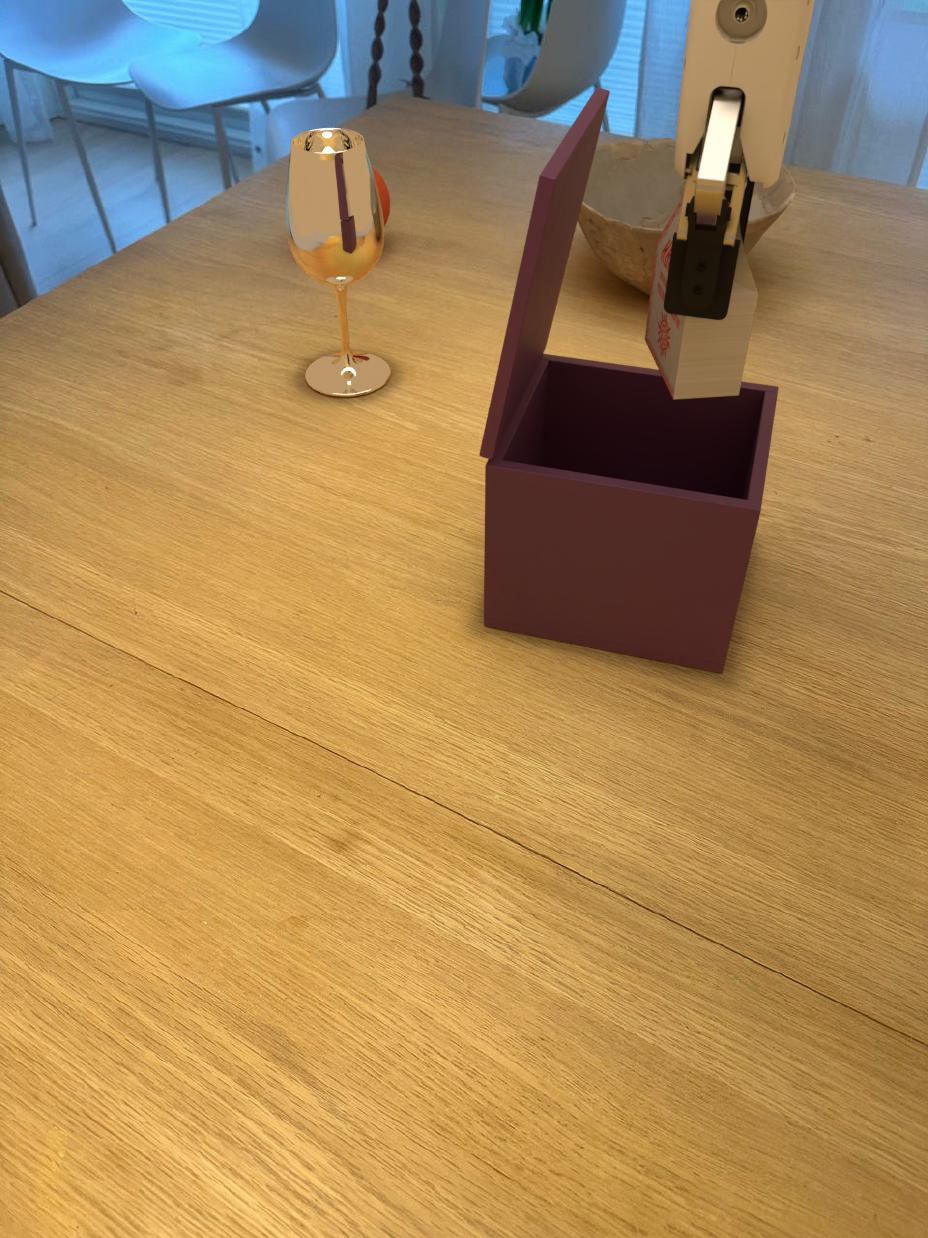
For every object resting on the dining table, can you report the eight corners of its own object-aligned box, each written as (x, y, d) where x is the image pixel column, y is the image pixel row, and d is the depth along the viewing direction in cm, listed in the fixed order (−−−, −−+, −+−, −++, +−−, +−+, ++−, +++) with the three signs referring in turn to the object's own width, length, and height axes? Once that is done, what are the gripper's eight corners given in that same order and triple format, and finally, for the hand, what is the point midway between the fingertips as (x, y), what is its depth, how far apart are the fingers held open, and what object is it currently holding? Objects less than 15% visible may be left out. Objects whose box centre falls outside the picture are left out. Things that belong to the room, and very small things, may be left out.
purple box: (743, 543, 76) (779, 385, 67) (722, 674, 66) (760, 510, 57) (532, 506, 79) (540, 352, 70) (483, 626, 69) (485, 464, 61)
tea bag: (705, 335, 63) (733, 164, 56) (738, 395, 58) (774, 214, 51) (644, 339, 63) (665, 167, 56) (673, 399, 58) (699, 218, 51)
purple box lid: (610, 89, 58) (596, 86, 58) (556, 178, 49) (539, 174, 49) (545, 348, 70) (534, 344, 70) (491, 460, 60) (478, 456, 60)
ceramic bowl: (542, 322, 100) (547, 218, 93) (568, 225, 117) (574, 130, 110) (780, 341, 97) (804, 235, 90) (772, 238, 114) (791, 142, 107)
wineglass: (333, 346, 97) (311, 116, 83) (408, 365, 94) (397, 131, 81) (286, 386, 92) (255, 148, 78) (364, 406, 89) (345, 164, 76)
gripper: (855, -72, 38) (762, 367, 50) (863, -144, 50) (786, 223, 62) (647, -83, 39) (605, 346, 51) (703, -149, 51) (659, 209, 64)
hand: (705, 277), depth 57 cm, fingers closed on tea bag, 7 cm apart
